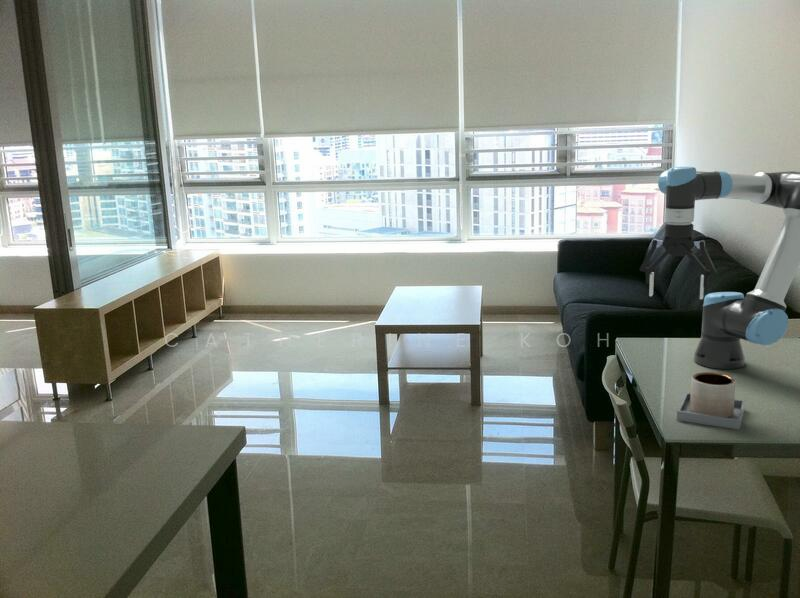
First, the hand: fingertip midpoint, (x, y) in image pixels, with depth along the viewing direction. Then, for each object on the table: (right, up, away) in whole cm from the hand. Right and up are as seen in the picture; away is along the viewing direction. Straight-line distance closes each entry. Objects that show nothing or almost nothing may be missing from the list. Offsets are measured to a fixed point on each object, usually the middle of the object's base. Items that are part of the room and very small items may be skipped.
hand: (675, 296), depth 212 cm
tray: (+4, -32, -14) cm, 35 cm away
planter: (+4, -31, -14) cm, 34 cm away
